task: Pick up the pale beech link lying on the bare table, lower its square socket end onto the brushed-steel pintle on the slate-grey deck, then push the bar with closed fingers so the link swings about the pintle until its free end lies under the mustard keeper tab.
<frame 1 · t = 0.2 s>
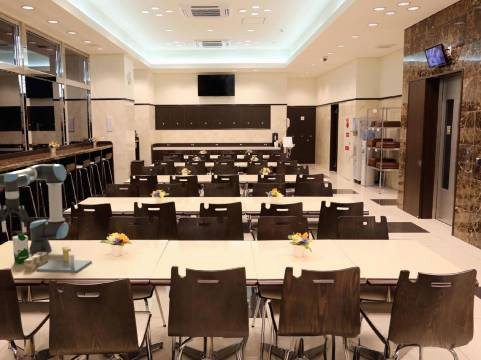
hand: (14, 231, 283), 27 cm above the table, fingers open, 13 cm apart
link: (27, 271, 291), on the table
milk carton: (21, 262, 310), on the table
deck: (65, 266, 299), on the table
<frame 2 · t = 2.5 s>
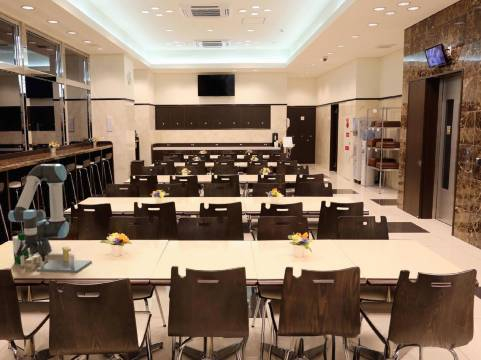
hand: (32, 265, 297), 2 cm above the table, fingers open, 13 cm apart
nothing on the table moved.
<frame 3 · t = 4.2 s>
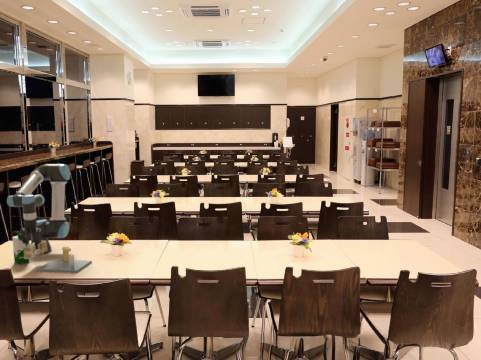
hand: (32, 253, 296), 9 cm above the table, fingers closed on link, 4 cm apart
link: (27, 258, 290), point 8 cm above the table, touching gripper
everything else where it was.
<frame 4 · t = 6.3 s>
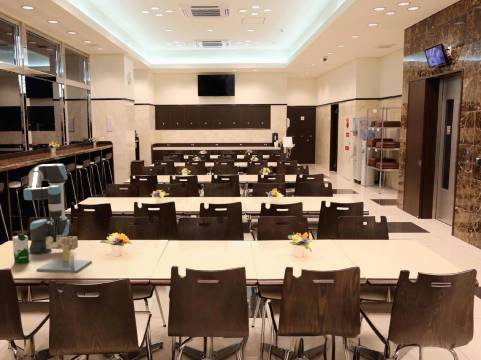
hand: (57, 245, 291), 16 cm above the table, fingers closed on link, 4 cm apart
link: (47, 247, 291), point 15 cm above the table, touching gripper
everything else where it was.
when the fingers open (3 cm above the table, at t = 8.9 s): link stays where it is, resting on deck.
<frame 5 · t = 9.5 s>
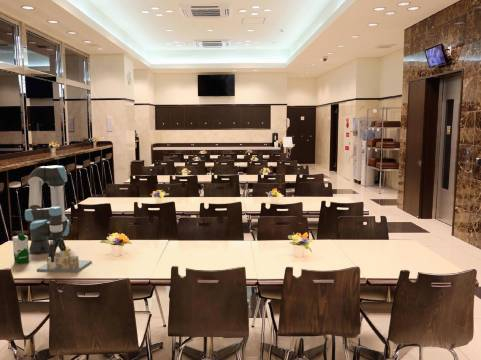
hand: (58, 263, 292), 4 cm above the table, fingers open, 12 cm apart
link: (48, 267, 293), point 1 cm above the table, touching deck
everything else where it was.
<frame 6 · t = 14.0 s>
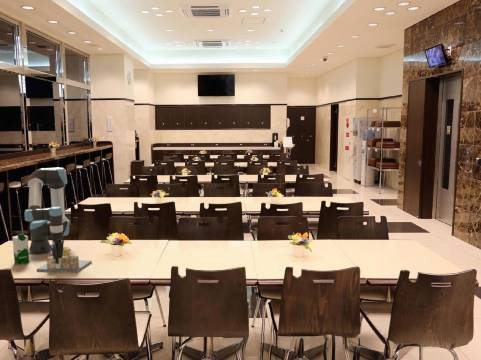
hand: (58, 268, 288), 3 cm above the table, fingers closed
link: (48, 267, 293), point 2 cm above the table, touching deck, gripper
everything else where it was.
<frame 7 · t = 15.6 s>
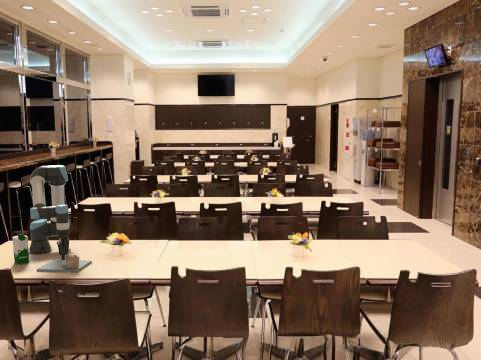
hand: (64, 264, 295), 3 cm above the table, fingers closed
link: (66, 261, 305), point 2 cm above the table, tilted 8°, touching deck, gripper
everything else where it was.
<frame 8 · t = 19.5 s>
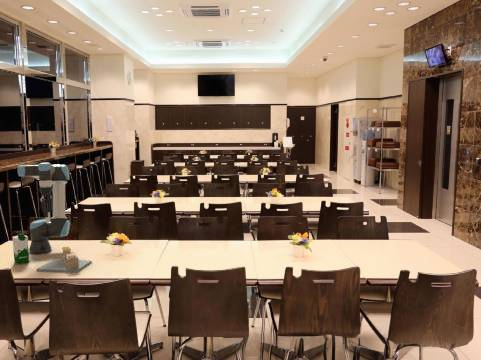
hand: (47, 222, 299), 29 cm above the table, fingers closed
link: (66, 261, 305), point 1 cm above the table, touching deck
everything else where it was.
at the end: link 0.9 cm from the target spot on the deck, point 1.5 cm above the deck's base; link tilted 0° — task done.
